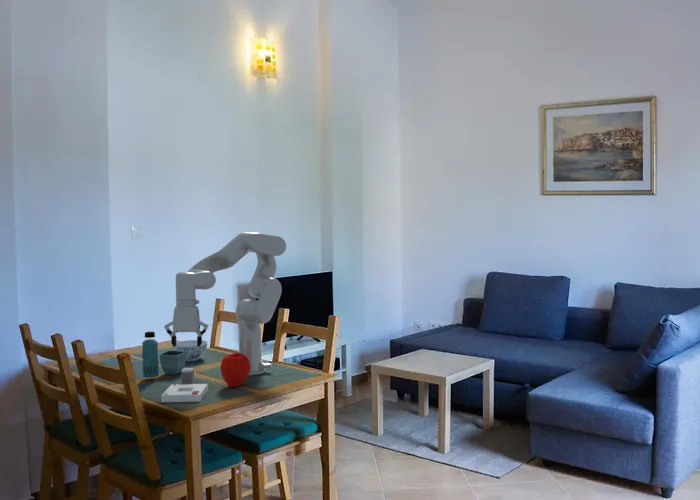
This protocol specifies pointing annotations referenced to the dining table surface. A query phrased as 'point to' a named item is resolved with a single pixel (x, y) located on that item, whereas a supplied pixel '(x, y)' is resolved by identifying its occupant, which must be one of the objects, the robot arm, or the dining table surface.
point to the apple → (235, 369)
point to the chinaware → (191, 349)
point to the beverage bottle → (150, 356)
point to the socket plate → (184, 393)
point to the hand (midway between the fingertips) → (186, 346)
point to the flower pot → (173, 361)
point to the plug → (187, 375)
